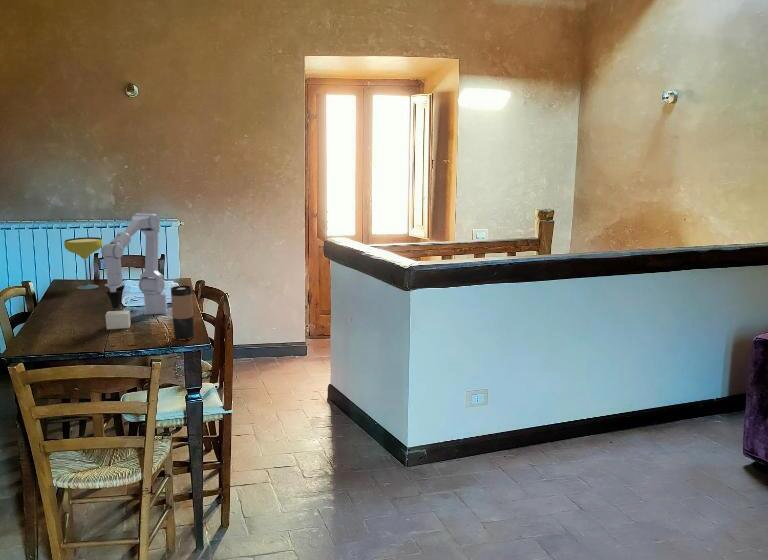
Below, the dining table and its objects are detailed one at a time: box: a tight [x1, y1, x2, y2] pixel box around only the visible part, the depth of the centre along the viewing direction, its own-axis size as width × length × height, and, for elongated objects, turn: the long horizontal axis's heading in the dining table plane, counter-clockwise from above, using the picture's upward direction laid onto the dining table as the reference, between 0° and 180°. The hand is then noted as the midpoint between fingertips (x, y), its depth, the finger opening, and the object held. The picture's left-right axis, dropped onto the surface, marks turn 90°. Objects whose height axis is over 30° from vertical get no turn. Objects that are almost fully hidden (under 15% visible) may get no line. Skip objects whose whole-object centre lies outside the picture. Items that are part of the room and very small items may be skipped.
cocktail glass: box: [63, 236, 103, 291], centre depth 361 cm, size 18×18×25 cm
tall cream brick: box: [105, 309, 132, 330], centre depth 287 cm, size 9×6×6 cm
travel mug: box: [170, 285, 195, 340], centre depth 269 cm, size 8×8×20 cm
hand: (117, 305), depth 286 cm, fingers open, 7 cm apart
